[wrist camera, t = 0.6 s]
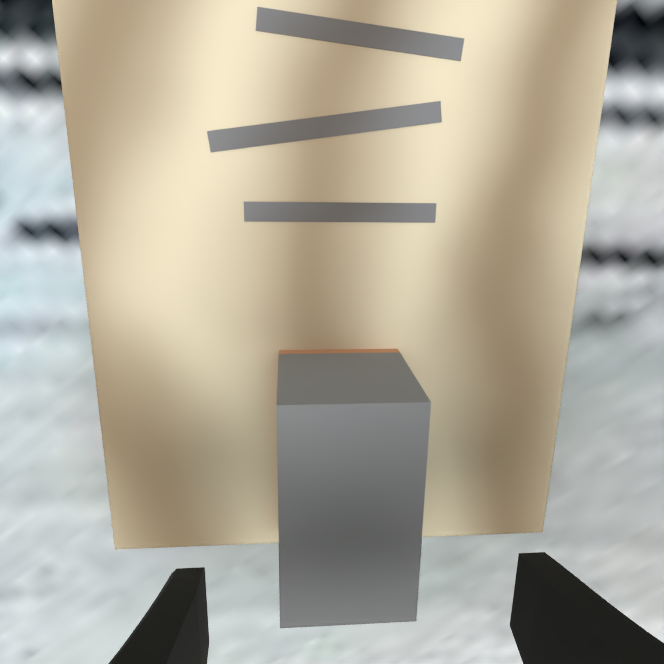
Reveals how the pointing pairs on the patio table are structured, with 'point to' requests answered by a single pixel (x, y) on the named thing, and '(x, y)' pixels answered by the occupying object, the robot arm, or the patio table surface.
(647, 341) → the patio table surface
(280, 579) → the block
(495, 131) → the board
